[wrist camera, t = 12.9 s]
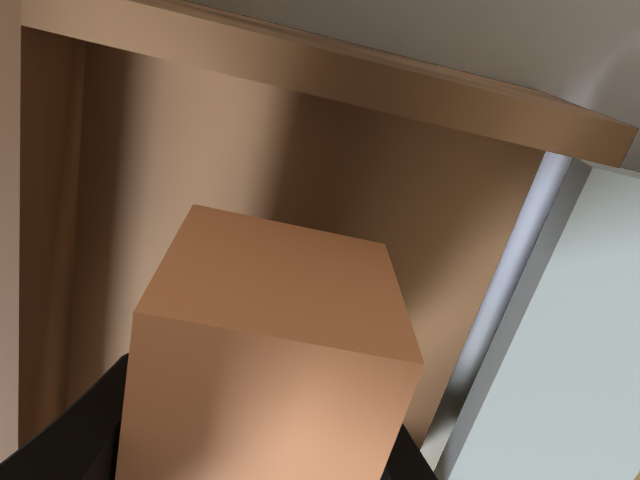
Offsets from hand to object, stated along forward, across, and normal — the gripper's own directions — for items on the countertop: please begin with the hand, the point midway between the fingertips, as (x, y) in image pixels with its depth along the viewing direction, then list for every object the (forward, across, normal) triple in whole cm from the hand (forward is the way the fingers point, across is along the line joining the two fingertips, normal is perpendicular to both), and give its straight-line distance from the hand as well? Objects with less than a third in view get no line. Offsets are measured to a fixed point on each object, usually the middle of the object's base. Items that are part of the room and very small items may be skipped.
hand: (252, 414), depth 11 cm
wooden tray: (+6, 0, 0) cm, 6 cm away
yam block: (+2, 0, 0) cm, 2 cm away
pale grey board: (+4, -6, 0) cm, 8 cm away
